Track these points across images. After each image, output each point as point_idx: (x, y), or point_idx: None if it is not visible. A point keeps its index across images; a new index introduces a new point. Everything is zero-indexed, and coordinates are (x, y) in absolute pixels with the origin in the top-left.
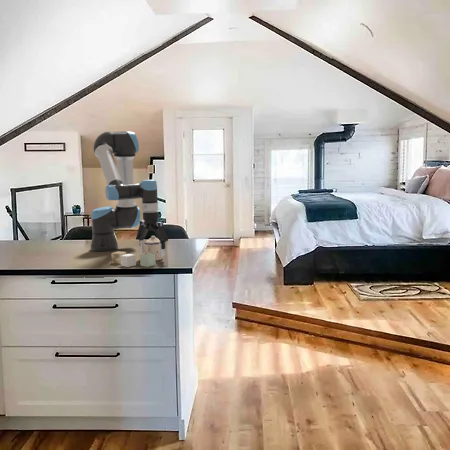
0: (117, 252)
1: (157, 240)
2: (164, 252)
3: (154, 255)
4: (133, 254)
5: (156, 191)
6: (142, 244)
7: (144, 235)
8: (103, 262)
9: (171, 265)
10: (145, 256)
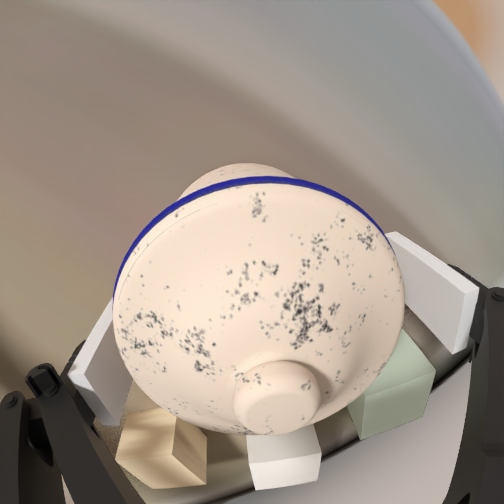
0: (151, 474)
1: (375, 338)
2: (409, 244)
3: (431, 371)
4: (299, 457)
5: None
6: (122, 377)
7: (108, 459)
8: (115, 450)
9: (482, 273)
10: (406, 421)
